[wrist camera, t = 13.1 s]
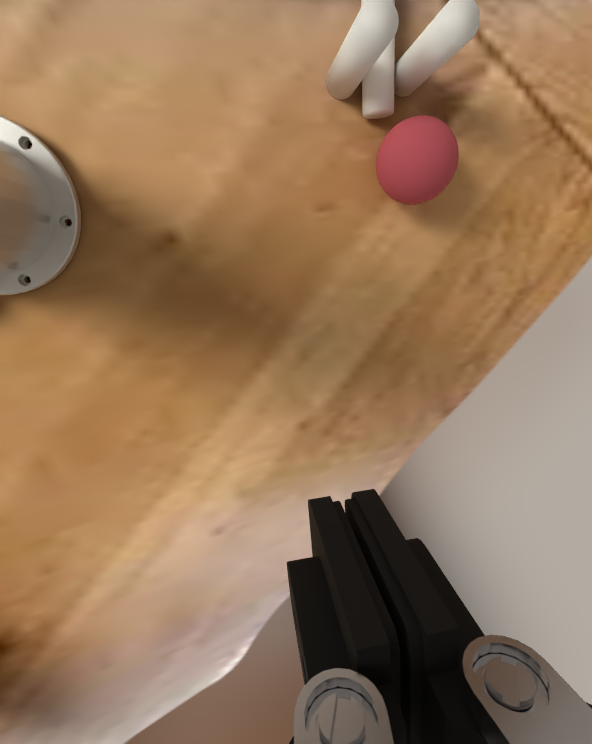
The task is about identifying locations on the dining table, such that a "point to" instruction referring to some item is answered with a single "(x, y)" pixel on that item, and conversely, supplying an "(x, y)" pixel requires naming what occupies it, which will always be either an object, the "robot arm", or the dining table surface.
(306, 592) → the robot arm
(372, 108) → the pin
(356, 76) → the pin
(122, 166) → the dining table surface
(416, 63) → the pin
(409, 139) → the ball
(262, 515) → the dining table surface
